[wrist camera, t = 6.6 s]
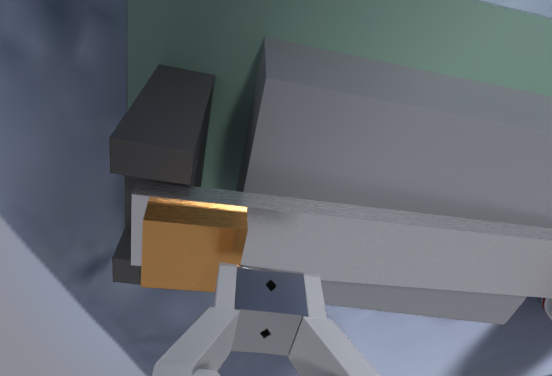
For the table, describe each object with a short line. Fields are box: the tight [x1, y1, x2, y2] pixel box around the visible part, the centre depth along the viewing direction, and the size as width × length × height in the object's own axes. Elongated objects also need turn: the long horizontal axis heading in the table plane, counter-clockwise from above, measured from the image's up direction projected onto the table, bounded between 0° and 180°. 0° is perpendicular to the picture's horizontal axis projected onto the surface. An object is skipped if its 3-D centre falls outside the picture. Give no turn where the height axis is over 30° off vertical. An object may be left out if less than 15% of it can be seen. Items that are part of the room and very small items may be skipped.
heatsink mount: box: [109, 0, 552, 325], centre depth 18 cm, size 16×25×8 cm, turn 78°
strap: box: [131, 179, 552, 298], centre depth 15 cm, size 3×22×2 cm, turn 78°
